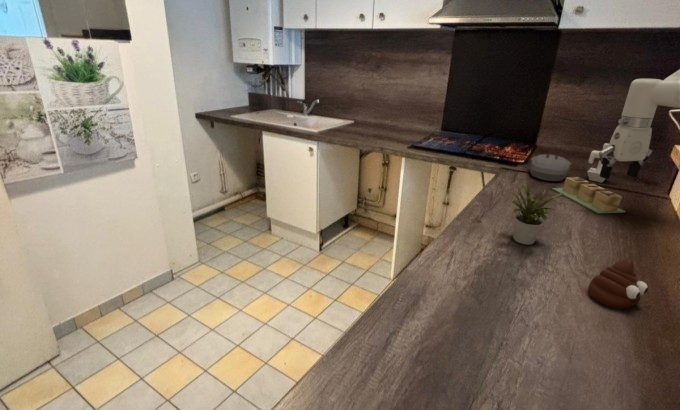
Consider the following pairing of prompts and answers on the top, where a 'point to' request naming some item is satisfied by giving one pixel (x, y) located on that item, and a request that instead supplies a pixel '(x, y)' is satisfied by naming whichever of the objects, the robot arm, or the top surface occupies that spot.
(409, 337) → the top surface
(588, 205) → the word mat
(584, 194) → the letter I
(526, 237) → the house plant
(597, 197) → the letter T
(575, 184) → the letter L
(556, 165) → the small grey backpack
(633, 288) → the poop emoji
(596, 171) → the figurine
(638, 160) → the robot arm
